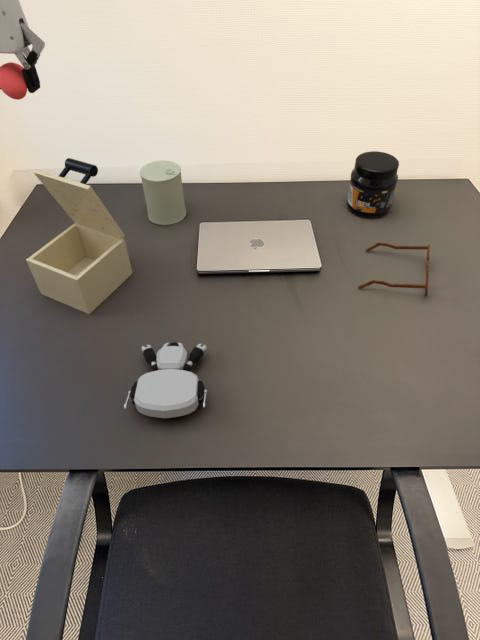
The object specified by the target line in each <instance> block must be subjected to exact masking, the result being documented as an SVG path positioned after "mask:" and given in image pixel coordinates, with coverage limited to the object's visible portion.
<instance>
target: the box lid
mask: <svg viewBox="0 0 480 640" xmlns="http://www.w3.org/2000/svg"><path fill="white" fill-rule="evenodd" d="M70 171H72V172H75V173H79V174H82V175H84V176H83V177H82V179H81V180H80V181H79V182H78V181H76V180H73V179H69V178H66V176H67V175H68V174H69V172H70ZM98 172H99V168H98V166H97V165H95V164H92V163H88V162H85V161H81V160H78V159H74V158H71V157H68V158H66V159H65V160H64V168H63V169H62V171H61V172H60V173H59V175H56V174H53V173H50V172H47V171H43V170H39V169H37V168H36V169H35V170H34V171H33V174H34V176H35V177H36V178H37V179H38V180H39V181H40V183H41V184H42V185H43V186H44V188H45V189H46V190H47V191H48V192H49V193H50V195H51V196H52V197H53V198H54V199H55V201H56V202H57V203H58V204H59V205H60V207H61V208H62V209H63V210H64V212H65V213H66V214H67V215H68V217H69V218H70V219H71V221H73V223H78V224H81V225H84V226H87V227H90V228H93V229H96V230H99V231H102V232H105V233H108V234H110V235H113V236H116V237H119V238H122V239H125V236H126V235H125V233H124V231H122V229H121V228H120V226H119V225H118V223H117V221H116V220H115V219H114V217H113V216H112V214H111V213H110V212H109V210H108V209H107V207H106V206H105V205H104V203H103V202H102V200H101V199H100V197H99V196H98V195H97V193H96V192H95V190H94V189H93V187H92V186H91V185H89V184H88V182H89V181H90V179H91V177H92V178H95V177H97V175H98Z"/></svg>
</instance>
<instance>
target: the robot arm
mask: <svg viewBox="0 0 480 640" xmlns="http://www.w3.org/2000/svg"><path fill="white" fill-rule="evenodd" d="M29 46H32V48H31V49H30V48H29ZM45 47H46V43H45V41H44V40H42V39H41V37H39V36H38V34H36V33H35V32H34V31H33V30H32V29H31V28H30V27H29V23H28V21H27V18H26V15H25V13H24V10H23V7H22V5H21V3H20V0H0V54H6V55H7V54H8V55H9V54H10V55H15V57H16V58H17V60H18V61H19V63H20V65H21V66H22V67H23V68H24V69H22V74H23V77H24V80H25V83H26V86H27V92H28V93H29V94H35V92H37V91H38V90H39V89H40V88H41V80H40V77H39V75H38V74H39V73H38V71H37V67H36V65H37V64H38V60H39V58H40V57H41V54H42V52H43V50H44V48H45ZM0 90H1V88H0Z"/></svg>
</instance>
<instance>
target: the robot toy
mask: <svg viewBox="0 0 480 640" xmlns="http://www.w3.org/2000/svg"><path fill="white" fill-rule="evenodd" d="M145 346H146V347H145ZM207 348H208V346H207V345H206V344H203V343H198V344H197V345H196V346H194V347H193V348H192V349H191V351H190V353H189V355H188V351H187V349H186V348H185V347H184V345H183V343H181V342H179V341H177V342H176V341H173V342H171V343H170V342H166V343H164V344H163V346H162V347H161V348H160V349H159V350H158V351H157V352H155V350H154V349H153V346H152V345H150V344H146V345H142V346H141V352H142V356H143V357H144V361H145V362H146V363H147V364H148V365H150V370H151V371H149V372H146V373H144V374H142V375H140V376H139V378H138V379H137V381H135V382H134V383H133V385H132V386H131V388H130V390H128V392H127V394H128V395H127V397H126V399H125V403H124V404H123V408H124V409H127V406H128V402H129V400H130V401H131V404H132V405H133V406H135V408H136V410H137V412H139V413H140V414H142V415H144V416H147V417H151V418H159V419H172V418H177V417H183V416H187V415H190V414H191V413H193V412H195V411H196V410H197V409H198V406H199V405H201V404H202V408H206V399H207V395H208V389H205V388H206V387H205V384H204V382H203V381H202V380H200V379H199V377H198V375H197V374H196V373H194V372H192V366H193V365H196V364H198V363H199V362H200V361H201V360H202V358H203V357H204V355H205V354H204V353H205V352H206V351H207Z"/></svg>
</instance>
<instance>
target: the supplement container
mask: <svg viewBox="0 0 480 640" xmlns="http://www.w3.org/2000/svg"><path fill="white" fill-rule="evenodd" d="M399 167H400V161H399V160H398V159H397V157H395V156H394V155H392V154H390V153H387V152H384V151H377V150H376V151H375V150H372V151H366V152H362V153H360V154H359V155H357V156H356V158H355V161H354V167H353V169H352V170H351V172H350V181H349V187H348V193H347V198H346V206H347V208H348V210H349V211H351V212H352V213H353V214H354V215H357V216H359V217H362V218H368V219H369V218H371V219H373V218H381V217H383V216H384V215H386V214H388V213H389V212H390V210H391V208H392V203H393V199H394V195H395V191H396V186H397V183H398V181H399V174H398V172H399Z"/></svg>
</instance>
